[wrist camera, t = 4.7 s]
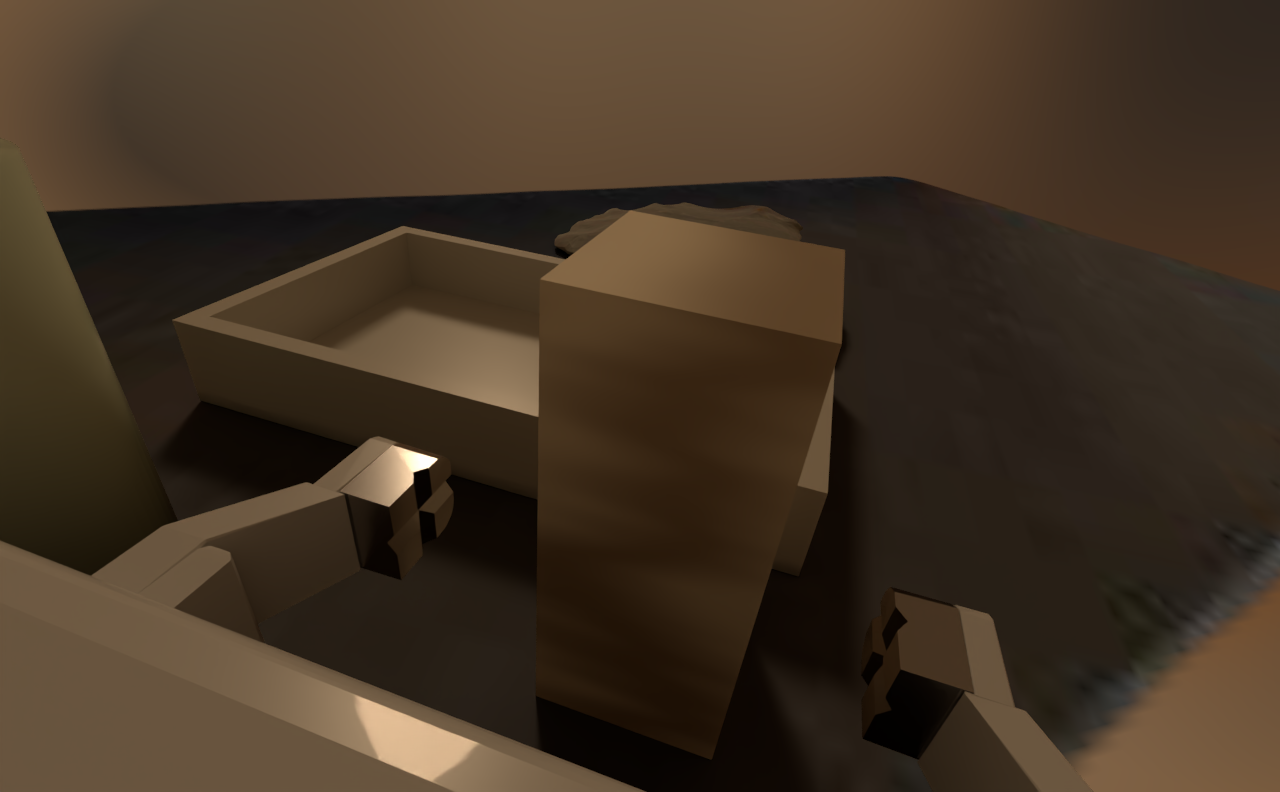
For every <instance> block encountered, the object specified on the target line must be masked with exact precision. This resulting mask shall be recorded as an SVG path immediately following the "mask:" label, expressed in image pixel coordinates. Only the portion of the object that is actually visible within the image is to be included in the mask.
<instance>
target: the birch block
mask: <svg viewBox="0 0 1280 792" xmlns="http://www.w3.org/2000/svg"><path fill="white" fill-rule="evenodd" d="M844 265H845V250H842V249H837V248H831V247H826V246H820V245H815V244H810V243H804V242H799V241H793V240H788V239H782V238H777V237H772V236H766V235H761V234H755V233H750V232H745V231H739V230H734V229H728V228H723V227H717V226H712V225H707V224H701V223H696V222H690V221H685V220H679V219H674V218H669V217H663V216H658V215H652V214H647V213H641V212H636V211H631V210H630V211H629V212H628V213H626V214H625V215H624V216H622V217H621V218H620V219H618V220H617V221H616V222H614V223H613V224H612V225H610V226H609V227H608V228H607V229H605V230H604V231H603V232H601V233H600V234H599V235H597V236H596V237H595V238H593V239H592V240H591V241H589V242H588V243H587V244H585V245H584V246H583V247H581V248H580V249H579V250H578V251H576V252H575V253H574V254H572V255H571V256H570V257H568V258H567V259H566V260H564V261H563V262H562V263H560V264H559V265H558V266H556V267H555V268H554V269H552V270H551V271H550V272H549V273H547V274H546V275H545V276H543V277H542V278H541V279H540V307H539V412H538V516H537V621H536V696H538V697H540V698H543V699H546V700H549V701H551V702H554V703H557V704H559V705H562V706H565V707H568V708H570V709H573V710H576V711H579V712H581V713H584V714H587V715H590V716H592V717H595V718H598V719H601V720H603V721H606V722H609V723H611V724H614V725H617V726H620V727H622V728H625V729H628V730H631V731H633V732H636V733H639V734H642V735H644V736H647V737H650V738H653V739H655V740H658V741H661V742H663V743H666V744H669V745H672V746H674V747H677V748H680V749H683V750H685V751H688V752H691V753H694V754H696V755H699V756H702V757H705V758H707V759H710V760H712V758H713V754H714V751H715V748H716V745H717V742H718V738H719V735H720V732H721V729H722V726H723V722H724V719H725V716H726V713H727V710H728V706H729V703H730V700H731V697H732V694H733V690H734V687H735V684H736V681H737V678H738V674H739V671H740V668H741V665H742V662H743V658H744V655H745V652H746V649H747V646H748V642H749V639H750V636H751V633H752V630H753V626H754V623H755V620H756V617H757V614H758V610H759V607H760V604H761V601H762V598H763V594H764V591H765V588H766V585H767V582H768V578H769V575H770V572H771V569H772V566H773V562H774V559H775V556H776V553H777V550H778V546H779V543H780V540H781V537H782V534H783V530H784V527H785V524H786V521H787V518H788V514H789V511H790V508H791V505H792V502H793V498H794V495H795V492H796V489H797V486H798V482H799V479H800V476H801V473H802V470H803V466H804V463H805V460H806V457H807V454H808V450H809V447H810V444H811V441H812V438H813V434H814V431H815V428H816V425H817V422H818V418H819V415H820V412H821V409H822V406H823V402H824V399H825V396H826V393H827V390H828V386H829V383H830V380H831V377H832V374H833V370H834V367H835V364H836V361H837V358H838V354H839V351H840V348H841V345H842V322H843V294H844Z"/></svg>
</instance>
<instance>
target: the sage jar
mask: <svg viewBox="0 0 1280 792" xmlns="http://www.w3.org/2000/svg"><path fill="white" fill-rule="evenodd" d="M177 521H178V520H177V517H176V515H175V512H174V510H173V508H172V505H171V503H170V501H169V498H168V496H167V494H166V491H165V489H164V487H163V484H162V482H161V480H160V477H159V475H158V473H157V470H156V468H155V466H154V463H153V461H152V459H151V456H150V454H149V452H148V449H147V447H146V445H145V442H144V440H143V438H142V435H141V433H140V431H139V428H138V426H137V424H136V421H135V419H134V416H133V414H132V412H131V409H130V407H129V405H128V402H127V400H126V398H125V395H124V393H123V391H122V388H121V386H120V384H119V381H118V379H117V377H116V374H115V372H114V370H113V367H112V365H111V363H110V360H109V358H108V356H107V353H106V351H105V349H104V346H103V344H102V342H101V339H100V337H99V335H98V332H97V330H96V328H95V325H94V323H93V320H92V318H91V316H90V313H89V311H88V309H87V306H86V304H85V302H84V299H83V297H82V295H81V292H80V290H79V288H78V285H77V283H76V281H75V278H74V276H73V274H72V271H71V269H70V267H69V264H68V262H67V260H66V257H65V255H64V253H63V250H62V248H61V246H60V243H59V241H58V239H57V236H56V234H55V232H54V229H53V227H52V224H51V222H50V220H49V217H48V215H47V213H46V210H45V208H44V206H43V204H42V201H41V199H40V196H39V194H38V192H37V189H36V187H35V185H34V182H33V180H32V178H31V175H30V173H29V171H28V168H27V166H26V164H25V161H24V159H23V157H22V154H21V152H20V150H19V147H18V146H17V145H16V144H14V143H13V142H11V141H8V140H5V139H1V138H0V541H3V542H5V543H8V544H10V545H13V546H16V547H18V548H21V549H23V550H26V551H28V552H31V553H34V554H36V555H39V556H41V557H44V558H46V559H49V560H52V561H54V562H57V563H59V564H62V565H64V566H67V567H69V568H72V569H75V570H77V571H80V572H82V573H85V574H87V575H90V576H91V575H93V574H94V573H96V572H97V571H99V570H100V569H101V568H103V567H104V566H106V565H107V564H109V563H110V562H112V561H113V560H114V559H116V558H117V557H119V556H120V555H122V554H123V553H124V552H126V551H127V550H129V549H130V548H132V547H133V546H135V545H136V544H137V543H139V542H140V541H142V540H143V539H145V538H146V537H147V536H149V535H150V534H152V533H153V532H155V531H156V530H158V529H159V528H160V527H162V526H164V525H167V524H170V523H174V522H177Z"/></svg>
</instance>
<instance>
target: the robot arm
mask: <svg viewBox="0 0 1280 792" xmlns="http://www.w3.org/2000/svg"><path fill="white" fill-rule="evenodd" d="M451 474H452V473H451V465H450V460H448V459H447V458H445V457H443V456H440V455H437V454H434V453H431V452H428V451H425V450H422V449H418V448H415V447H412V446H409V445H406V444H403V443H398V442H395V441H392V440H389V439H386V438H382V437H379V436H378V437H374V438H370V439H369V440H367V441H366V442H365V443H364V444H362V445H361V446H360V447H359V448H358V449H356V450H355V451H354V452H353V453H351V454H350V455H349V456H348V457H346V458H345V459H344V460H343V461H341V462H340V463H339V464H338V465H336V466H335V467H334V468H333V469H332V470H330V471H329V472H328V473H327V474H325V475H324V476H323V477H322V478H320V479H319V480H318V481H317V482H315V483H314V484H311V483H307V482H305V483H302V484H299V485H295V486H292V487H289V488H286V489H282V490H279V491H276V492H272V493H269V494H266V495H263V496H259V497H256V498H253V499H249V500H246V501H243V502H240V503H236V504H233V505H230V506H226V507H223V508H220V509H217V510H213V511H210V512H207V513H203V514H200V515H197V516H193V517H190V518H187V519H184V520H180V521H177V522H174V523H170V524H167V525H164V526H162V527H160V528H159V529H158V530H156V531H155V532H153V533H152V534H150V535H149V536H147V537H146V538H145V539H143V540H142V541H140V542H139V543H137V544H136V545H135V546H133V547H132V548H130V549H129V550H127V551H126V552H124V553H123V554H122V555H120V556H119V557H117V558H116V559H114V560H113V561H112V562H110V563H109V564H107V565H106V566H104V567H103V568H101V569H100V570H99V571H97V572H96V573H94V574H93V575H91V576H90V575H87V574H85V573H82V572H80V571H77V570H75V569H72V568H69V567H67V566H64V565H62V564H59V563H57V562H54V561H52V560H49V559H46V558H44V557H41V556H39V555H36V554H34V553H31V552H28V551H26V550H23V549H21V548H18V547H16V546H13V545H10V544H8V543H5V542H3V541H0V792H646V791H643V790H641V789H638V788H635V787H633V786H630V785H628V784H625V783H623V782H620V781H617V780H615V779H612V778H610V777H607V776H605V775H602V774H599V773H597V772H594V771H592V770H589V769H587V768H584V767H581V766H579V765H576V764H574V763H571V762H569V761H566V760H563V759H561V758H558V757H556V756H553V755H550V754H548V753H545V752H543V751H540V750H538V749H535V748H532V747H530V746H527V745H525V744H522V743H519V742H517V741H514V740H512V739H509V738H507V737H504V736H501V735H499V734H496V733H494V732H491V731H489V730H486V729H483V728H481V727H478V726H476V725H473V724H470V723H468V722H465V721H463V720H460V719H458V718H455V717H452V716H450V715H447V714H445V713H442V712H439V711H437V710H434V709H432V708H429V707H427V706H424V705H421V704H419V703H416V702H414V701H411V700H409V699H406V698H403V697H401V696H398V695H396V694H393V693H391V692H388V691H385V690H383V689H380V688H378V687H375V686H373V685H370V684H367V683H365V682H362V681H360V680H357V679H355V678H352V677H349V676H347V675H344V674H342V673H339V672H337V671H334V670H331V669H329V668H326V667H324V666H321V665H319V664H316V663H313V662H311V661H308V660H306V659H303V658H301V657H298V656H295V655H293V654H290V653H288V652H285V651H283V650H280V649H277V648H275V647H272V646H270V645H267V644H265V642H264V639H263V637H262V634H261V631H260V629H259V626H258V624H259V623H260V622H262V621H264V620H266V619H268V618H270V617H272V616H274V615H276V614H278V613H280V612H282V611H283V610H285V609H287V608H289V607H291V606H293V605H295V604H297V603H299V602H301V601H303V600H304V599H306V598H308V597H310V596H312V595H314V594H316V593H318V592H320V591H322V590H324V589H326V588H327V587H329V586H331V585H333V584H335V583H337V582H339V581H341V580H343V579H345V578H347V577H348V576H350V575H352V574H354V573H356V572H358V571H360V570H361V568H364V569H367V570H370V571H373V572H377V573H380V574H383V575H386V576H389V577H393V578H396V579H399V580H402V579H403V578H404V576H405V575H406V574H407V573H408V572H409V570H410V569H411V568H412V567H413V566H414V565H415V563H416V562H417V561H418V560H419V559H420V558H421V556H422V555H423V544H424V543H426V542H429V541H431V540H434V539H436V538H437V537H438V536H439V535H440V534H441V532H442V531H443V530H444V529H445V527H446V525H447V523H448V521H449V519H450V517H451V514H452V511H453V505H454V495H453V491H452V489H451V488H450V487H449V485H448V484H447V482H446V480H447V479H448V478H449V476H450V475H451ZM360 567H361V568H360ZM861 676H862V677H863V679H864V680H865V682H866V683H867V685H868V688H867V690H866V692H865V694H864V696H863V698H862V739H864V740H867V741H869V742H872V743H875V744H877V745H880V746H883V747H886V748H888V749H891V750H894V751H896V752H899V753H902V754H904V755H907V756H910V757H912V758H915V759H918V760H919V761H918V764H919V766H920V768H921V770H922V772H923V774H924V776H925V777H926V779H927V781H928V783H929V785H930V787H931V789H932V791H933V792H1093V791H1092V789H1091V788H1090V787H1089V786H1088V785H1087V783H1086V782H1085V781H1084V780H1083V779H1082V777H1081V776H1080V775H1079V774H1078V773H1077V771H1076V770H1075V769H1074V768H1073V767H1072V766H1071V764H1070V763H1069V762H1068V761H1067V760H1066V758H1065V757H1064V756H1063V755H1062V754H1061V752H1060V751H1059V750H1058V749H1057V748H1056V746H1055V745H1054V744H1053V743H1052V742H1051V741H1050V739H1049V738H1048V737H1047V736H1046V735H1045V733H1044V732H1043V731H1042V730H1041V729H1040V727H1039V726H1038V725H1037V724H1036V723H1035V721H1034V720H1033V719H1032V718H1031V717H1030V716H1029V714H1028V713H1027V712H1026V711H1024V710H1021V709H1018V708H1015V705H1014V701H1013V697H1012V693H1011V689H1010V685H1009V681H1008V677H1007V673H1006V669H1005V665H1004V661H1003V657H1002V653H1001V649H1000V645H999V641H998V637H997V633H996V629H995V625H994V621H993V619H992V618H991V617H990V615H989V614H986V613H983V612H979V611H975V610H972V609H968V608H965V607H961V606H957V605H952V604H950V603H946V602H943V601H939V600H936V599H932V598H928V597H925V596H921V595H918V594H914V593H911V592H907V591H904V590H900V589H897V588H893V587H890V588H889V589H888V590H887V591H886V592H885V594H884V596H883V598H882V600H881V616H879V617H877V618H874V619H872V621H871V623H870V626H869V628H868V630H867V633H866V637H865V641H864V645H863V650H862V660H861Z"/></svg>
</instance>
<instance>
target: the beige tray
mask: <svg viewBox="0 0 1280 792" xmlns="http://www.w3.org/2000/svg"><path fill="white" fill-rule="evenodd" d="M564 260H565V259H560V258H555V257H550V256H545V255H541V254H536V253H531V252H526V251H521V250H516V249H511V248H507V247H502V246H497V245H492V244H487V243H482V242H477V241H473V240H468V239H463V238H458V237H453V236H448V235H443V234H438V233H434V232H429V231H424V230H419V229H414V228H409V227H404V226H402V227H399V228H397V229H394V230H392V231H390V232H387V233H385V234H382V235H380V236H377V237H375V238H372V239H370V240H367V241H365V242H363V243H360V244H358V245H355V246H353V247H350V248H348V249H345V250H343V251H340V252H338V253H336V254H333V255H331V256H328V257H326V258H323V259H321V260H318V261H316V262H314V263H311V264H309V265H306V266H304V267H301V268H299V269H296V270H294V271H291V272H289V273H287V274H284V275H282V276H279V277H277V278H274V279H272V280H269V281H267V282H264V283H262V284H260V285H257V286H255V287H252V288H250V289H247V290H245V291H242V292H240V293H237V294H235V295H233V296H230V297H228V298H225V299H223V300H220V301H218V302H215V303H213V304H210V305H208V306H206V307H203V308H201V309H198V310H196V311H193V312H191V313H188V314H186V315H184V316H181V317H179V318H176V319H174V320H172V321H173V324H174V327H175V330H176V332H177V335H178V338H179V341H180V344H181V347H182V350H183V353H184V355H185V358H186V361H187V364H188V367H189V370H190V373H191V375H192V378H193V381H194V384H195V387H196V390H197V393H198V396H199V398H200V401H204V402H207V403H211V404H214V405H217V406H221V407H224V408H228V409H231V410H234V411H238V412H241V413H244V414H248V415H251V416H255V417H258V418H261V419H265V420H268V421H272V422H275V423H278V424H282V425H285V426H289V427H292V428H295V429H299V430H302V431H306V432H309V433H312V434H316V435H319V436H323V437H326V438H329V439H333V440H336V441H340V442H343V443H346V444H350V445H353V446H357V447H360V446H361V445H362V444H364V443H365V442H366V441H367V440H369V439H370V438H374V437H378V436H379V437H382V438H386V439H389V440H392V441H395V442H398V443H403V444H406V445H409V446H412V447H415V448H418V449H422V450H425V451H428V452H431V453H434V454H437V455H440V456H443V457H445V458H447V459H448V460H450V465H451V473H452V475H455V476H458V477H462V478H465V479H469V480H472V481H475V482H479V483H482V484H486V485H489V486H492V487H496V488H499V489H503V490H506V491H509V492H513V493H516V494H520V495H523V496H526V497H530V498H533V499H537V500H538V412H539V307H540V279H541V278H542V277H543V276H545V275H546V274H547V273H549V272H550V271H551V270H552V269H554V268H555V267H556V266H558V265H559V264H560V263H562V262H563V261H564ZM834 369H835V367H834ZM833 388H834V370H833V374H832V377H831V380H830V383H829V386H828V390H827V393H826V396H825V399H824V402H823V406H822V409H821V412H820V415H819V418H818V422H817V425H816V428H815V431H814V434H813V438H812V441H811V444H810V447H809V450H808V454H807V457H806V460H805V463H804V466H803V470H802V473H801V476H800V479H799V482H798V486H797V489H796V492H795V495H794V498H793V502H792V505H791V508H790V511H789V514H788V518H787V521H786V524H785V527H784V530H783V534H782V537H781V540H780V543H779V546H778V550H777V553H776V556H775V559H774V562H773V566H772V569H774V570H778V571H781V572H785V573H788V574H791V575H795V576H798V577H799V574H800V571H801V568H802V566H803V563H804V560H805V557H806V554H807V551H808V549H809V546H810V543H811V540H812V537H813V534H814V531H815V529H816V526H817V523H818V520H819V517H820V514H821V511H822V509H823V506H824V503H825V500H826V497H827V494H828V480H829V462H830V443H831V425H832V406H833Z"/></svg>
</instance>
